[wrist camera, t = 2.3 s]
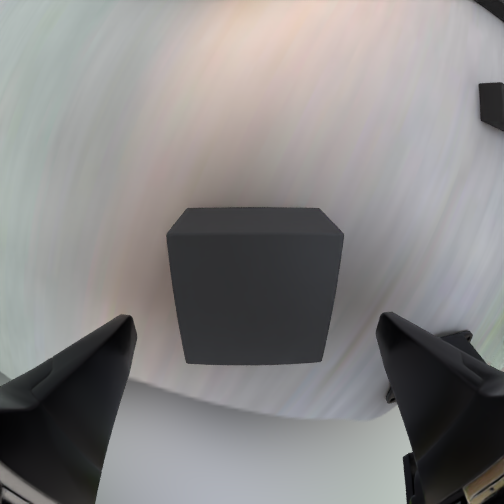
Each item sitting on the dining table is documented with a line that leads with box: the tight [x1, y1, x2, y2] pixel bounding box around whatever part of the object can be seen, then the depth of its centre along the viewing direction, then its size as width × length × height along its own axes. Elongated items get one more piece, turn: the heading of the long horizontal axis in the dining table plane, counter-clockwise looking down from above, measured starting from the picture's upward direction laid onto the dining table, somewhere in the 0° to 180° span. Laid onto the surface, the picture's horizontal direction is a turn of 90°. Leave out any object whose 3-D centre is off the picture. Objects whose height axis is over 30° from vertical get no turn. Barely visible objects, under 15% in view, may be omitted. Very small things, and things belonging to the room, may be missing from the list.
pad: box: [166, 207, 344, 365], centre depth 12 cm, size 6×6×4 cm
